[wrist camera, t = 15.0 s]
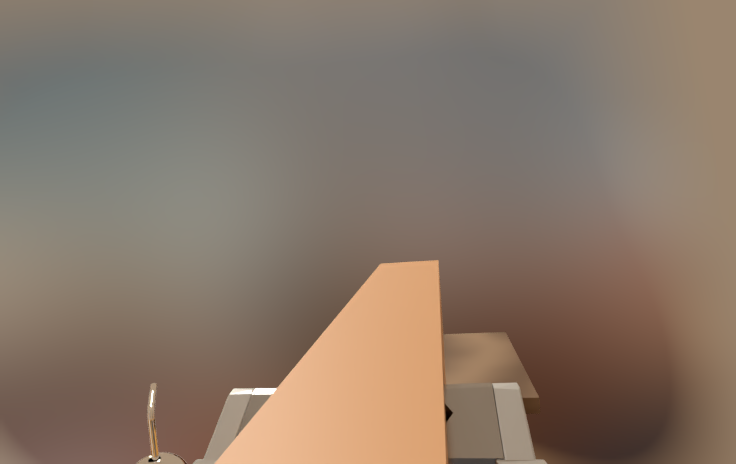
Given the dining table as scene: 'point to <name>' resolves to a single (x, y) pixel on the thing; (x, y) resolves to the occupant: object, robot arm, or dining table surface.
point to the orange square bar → (362, 383)
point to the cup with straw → (156, 461)
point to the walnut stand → (487, 363)
